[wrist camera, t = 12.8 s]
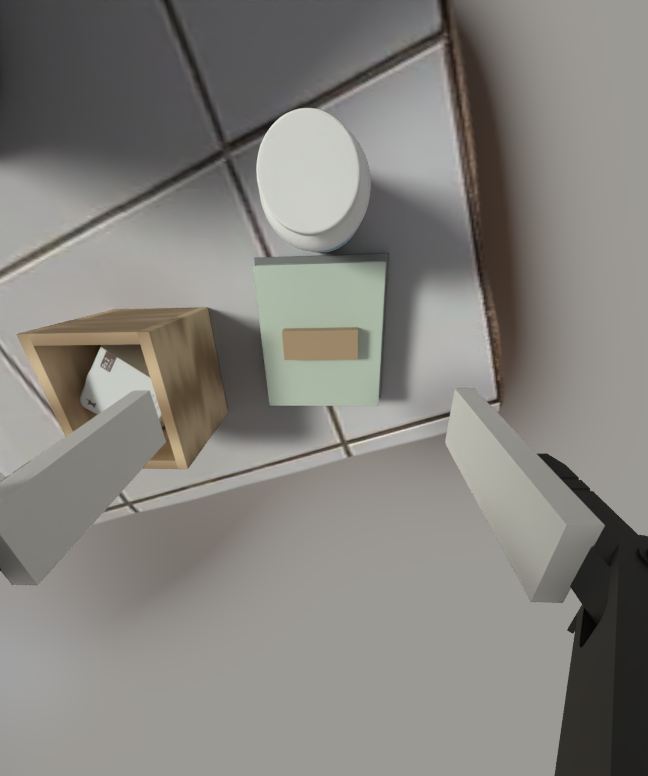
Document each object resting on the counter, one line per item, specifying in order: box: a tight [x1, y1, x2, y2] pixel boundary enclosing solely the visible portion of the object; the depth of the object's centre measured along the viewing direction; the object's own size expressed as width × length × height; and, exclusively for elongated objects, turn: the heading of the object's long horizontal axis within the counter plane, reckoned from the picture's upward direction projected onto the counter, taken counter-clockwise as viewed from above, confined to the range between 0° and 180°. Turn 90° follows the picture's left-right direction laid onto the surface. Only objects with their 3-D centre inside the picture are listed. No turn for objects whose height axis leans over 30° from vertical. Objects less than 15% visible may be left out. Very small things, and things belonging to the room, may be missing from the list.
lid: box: [253, 261, 386, 406], centre depth 25 cm, size 12×10×4 cm
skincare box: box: [80, 344, 165, 428], centre depth 26 cm, size 6×6×7 cm
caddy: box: [17, 307, 228, 469], centre depth 25 cm, size 11×9×9 cm
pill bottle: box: [256, 108, 371, 252], centre depth 18 cm, size 6×6×11 cm
